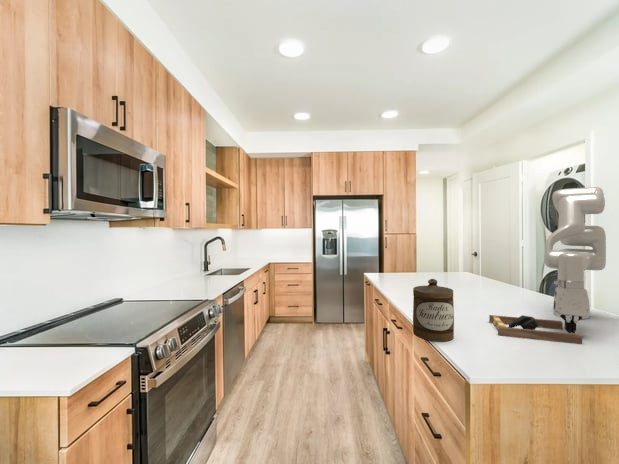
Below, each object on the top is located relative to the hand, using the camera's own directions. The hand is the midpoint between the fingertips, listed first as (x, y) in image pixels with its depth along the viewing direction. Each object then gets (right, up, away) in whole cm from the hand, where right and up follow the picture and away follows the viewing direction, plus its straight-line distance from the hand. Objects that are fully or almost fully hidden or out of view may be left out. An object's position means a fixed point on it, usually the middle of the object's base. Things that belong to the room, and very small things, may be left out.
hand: (570, 332), depth 118 cm
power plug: (-16, -2, +5) cm, 17 cm away
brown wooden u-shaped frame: (-12, -1, +5) cm, 13 cm away
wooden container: (-53, -2, +1) cm, 53 cm away
